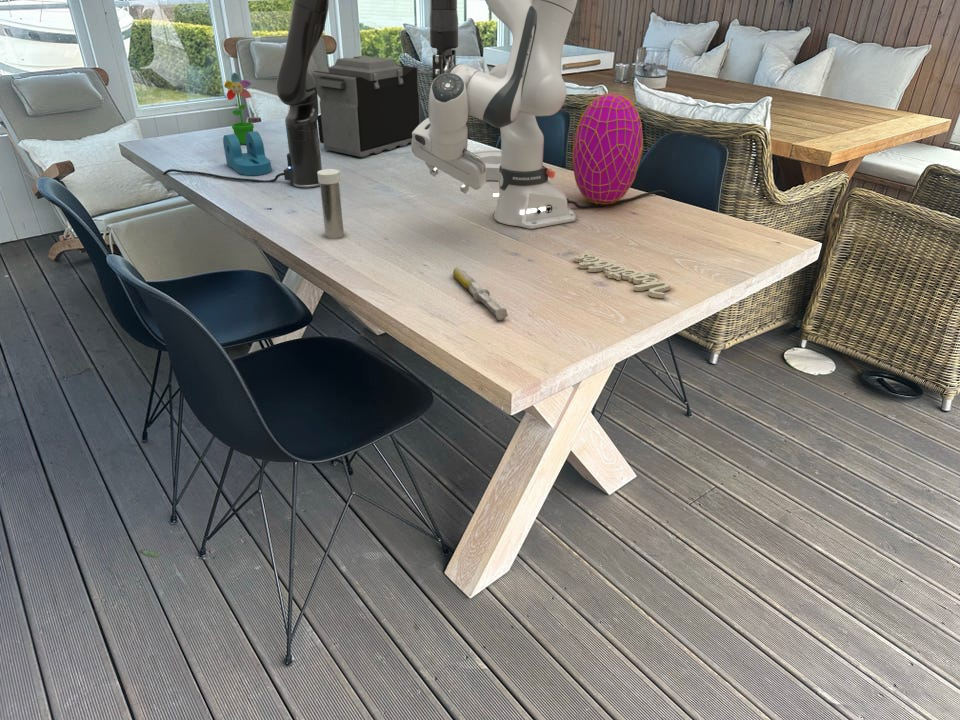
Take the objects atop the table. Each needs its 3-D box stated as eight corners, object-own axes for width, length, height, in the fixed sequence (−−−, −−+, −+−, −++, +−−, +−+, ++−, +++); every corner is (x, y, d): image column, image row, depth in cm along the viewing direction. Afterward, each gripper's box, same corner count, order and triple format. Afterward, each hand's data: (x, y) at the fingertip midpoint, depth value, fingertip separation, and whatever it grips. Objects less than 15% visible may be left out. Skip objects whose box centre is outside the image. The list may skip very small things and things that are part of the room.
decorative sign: (686, 282, 150) (660, 295, 144) (686, 286, 150) (659, 300, 144) (592, 249, 166) (565, 259, 160) (592, 253, 167) (565, 263, 161)
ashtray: (462, 161, 240) (462, 149, 238) (529, 162, 239) (529, 150, 237) (459, 179, 220) (459, 167, 218) (531, 181, 220) (531, 168, 217)
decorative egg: (611, 217, 189) (624, 103, 174) (555, 202, 201) (562, 94, 185) (647, 202, 202) (662, 94, 186) (592, 188, 213) (602, 86, 198)
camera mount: (227, 164, 233) (221, 132, 227) (257, 160, 238) (252, 129, 233) (244, 176, 220) (239, 143, 215) (276, 172, 225) (271, 139, 220)
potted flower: (235, 145, 255) (223, 73, 243) (231, 141, 261) (219, 70, 249) (261, 143, 259) (250, 72, 247) (256, 139, 265) (246, 69, 252)
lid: (321, 178, 171) (320, 168, 170) (342, 178, 171) (341, 169, 170) (315, 184, 167) (314, 174, 165) (337, 184, 166) (336, 175, 165)
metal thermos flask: (328, 232, 178) (321, 170, 170) (345, 232, 178) (340, 171, 170) (323, 238, 174) (316, 176, 166) (341, 239, 174) (335, 176, 166)
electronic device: (383, 133, 276) (378, 52, 261) (425, 141, 265) (422, 56, 250) (314, 150, 251) (304, 61, 235) (358, 160, 240) (350, 67, 224)
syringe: (449, 274, 155) (449, 263, 153) (465, 272, 156) (464, 260, 154) (490, 323, 135) (491, 310, 133) (508, 319, 136) (508, 307, 134)
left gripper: (438, 25, 189) (439, 88, 198) (422, 30, 177) (424, 96, 186) (464, 26, 188) (464, 89, 196) (450, 31, 176) (450, 97, 184)
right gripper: (493, 152, 158) (490, 193, 170) (422, 114, 163) (424, 157, 175) (477, 169, 156) (476, 209, 168) (406, 130, 161) (409, 172, 173)
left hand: (444, 92), depth 191 cm, fingers open, 8 cm apart
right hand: (449, 182), depth 172 cm, fingers open, 8 cm apart
